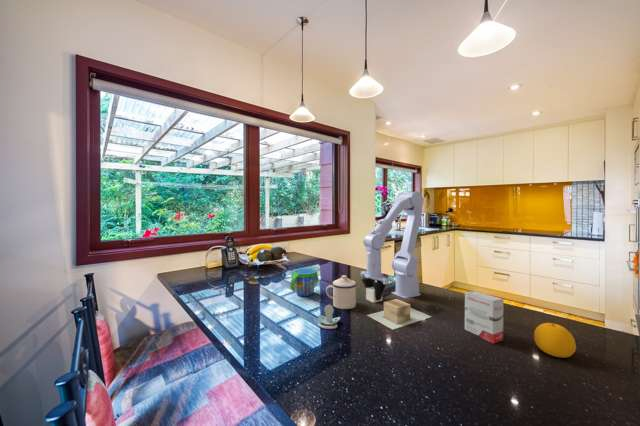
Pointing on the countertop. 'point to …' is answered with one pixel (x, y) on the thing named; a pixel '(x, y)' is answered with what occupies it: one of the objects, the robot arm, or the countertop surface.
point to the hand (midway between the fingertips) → (374, 297)
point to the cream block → (371, 295)
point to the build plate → (392, 325)
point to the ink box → (484, 316)
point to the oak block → (397, 311)
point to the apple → (554, 340)
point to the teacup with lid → (343, 293)
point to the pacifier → (328, 319)
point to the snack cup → (304, 281)
